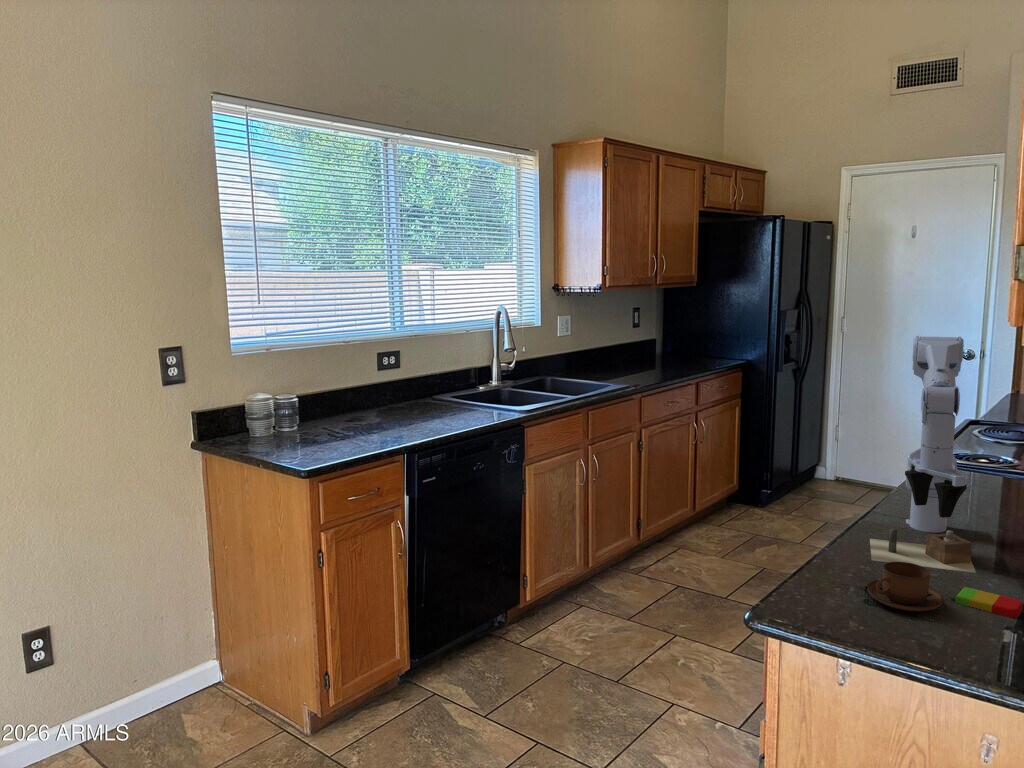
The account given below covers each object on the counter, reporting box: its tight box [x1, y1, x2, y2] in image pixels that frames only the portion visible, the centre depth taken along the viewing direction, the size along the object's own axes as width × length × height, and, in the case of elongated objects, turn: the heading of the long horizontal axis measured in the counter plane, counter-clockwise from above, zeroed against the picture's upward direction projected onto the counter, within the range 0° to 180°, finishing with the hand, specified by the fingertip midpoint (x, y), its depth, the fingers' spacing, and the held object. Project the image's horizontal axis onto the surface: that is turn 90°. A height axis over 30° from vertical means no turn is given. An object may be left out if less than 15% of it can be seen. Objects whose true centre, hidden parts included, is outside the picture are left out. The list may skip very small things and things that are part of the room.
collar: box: [925, 533, 973, 564], centre depth 152 cm, size 6×6×4 cm
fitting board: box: [869, 528, 977, 574], centre depth 154 cm, size 13×18×6 cm
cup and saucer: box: [867, 562, 944, 612], centre depth 135 cm, size 12×12×6 cm
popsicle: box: [954, 586, 1024, 618], centre depth 135 cm, size 6×15×2 cm, turn 46°
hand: (932, 510), depth 155 cm, fingers open, 7 cm apart
